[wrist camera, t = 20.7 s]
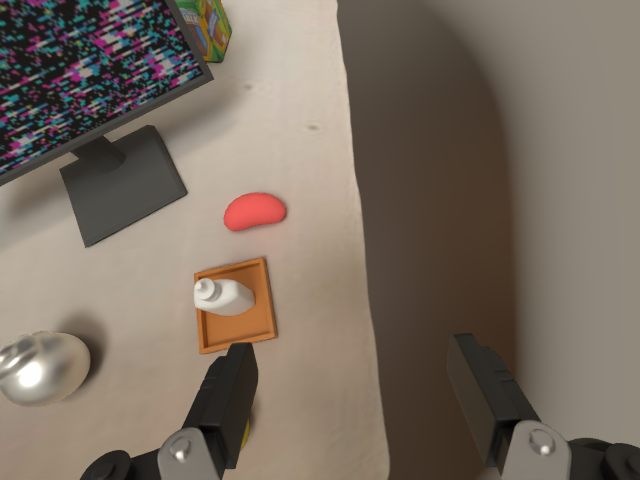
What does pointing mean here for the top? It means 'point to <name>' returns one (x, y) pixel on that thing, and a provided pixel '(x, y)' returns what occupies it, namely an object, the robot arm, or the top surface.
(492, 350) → the robot arm
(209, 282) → the eye dropper bottle
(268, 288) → the amber tray
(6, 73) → the computer monitor
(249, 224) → the red kidney bean shape
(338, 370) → the top surface
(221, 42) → the chalk box
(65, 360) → the silver rounded lump
